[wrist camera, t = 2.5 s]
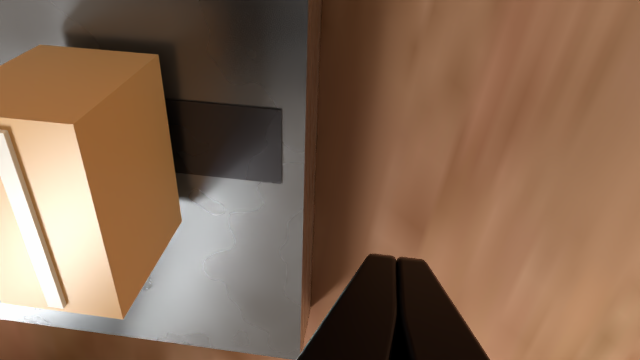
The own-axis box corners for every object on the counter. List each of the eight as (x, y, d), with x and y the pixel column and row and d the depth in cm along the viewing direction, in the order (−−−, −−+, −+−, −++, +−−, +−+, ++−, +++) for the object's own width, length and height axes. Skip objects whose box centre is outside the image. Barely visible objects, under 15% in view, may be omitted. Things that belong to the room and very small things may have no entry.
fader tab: (181, 221, 12) (121, 323, 9) (84, 209, 12) (-3, 306, 9) (158, 54, 10) (68, 127, 7) (40, 44, 10) (-90, 111, 7)
